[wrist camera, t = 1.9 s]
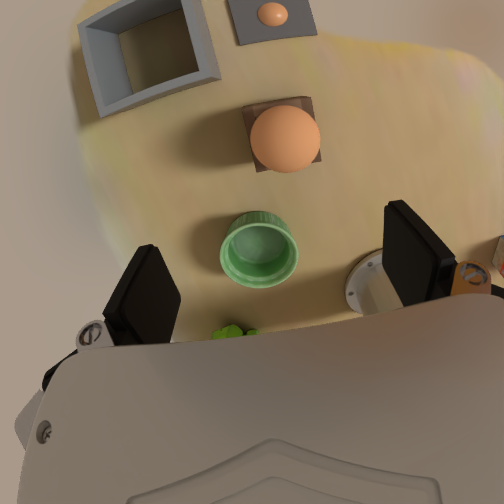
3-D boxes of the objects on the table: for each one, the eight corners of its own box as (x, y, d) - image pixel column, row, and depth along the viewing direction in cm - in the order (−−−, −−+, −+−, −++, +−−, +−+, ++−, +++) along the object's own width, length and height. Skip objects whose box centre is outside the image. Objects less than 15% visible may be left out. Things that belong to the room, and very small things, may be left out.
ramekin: (306, 246, 36) (312, 266, 32) (249, 277, 39) (249, 299, 35) (269, 192, 32) (271, 208, 28) (208, 230, 35) (202, 250, 31)
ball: (307, 99, 23) (321, 102, 18) (317, 157, 26) (332, 175, 21) (244, 109, 24) (241, 115, 19) (258, 167, 27) (258, 188, 22)
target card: (303, -11, 18) (304, -12, 18) (316, 35, 21) (317, 34, 21) (227, -1, 19) (227, -2, 19) (240, 45, 22) (240, 45, 22)
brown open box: (303, 95, 25) (311, 97, 22) (313, 151, 29) (321, 161, 25) (243, 106, 26) (241, 109, 23) (256, 161, 29) (256, 172, 26)
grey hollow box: (199, -4, 19) (184, -25, 13) (221, 79, 24) (211, 76, 18) (110, 32, 20) (77, 24, 14) (130, 109, 26) (100, 118, 20)
